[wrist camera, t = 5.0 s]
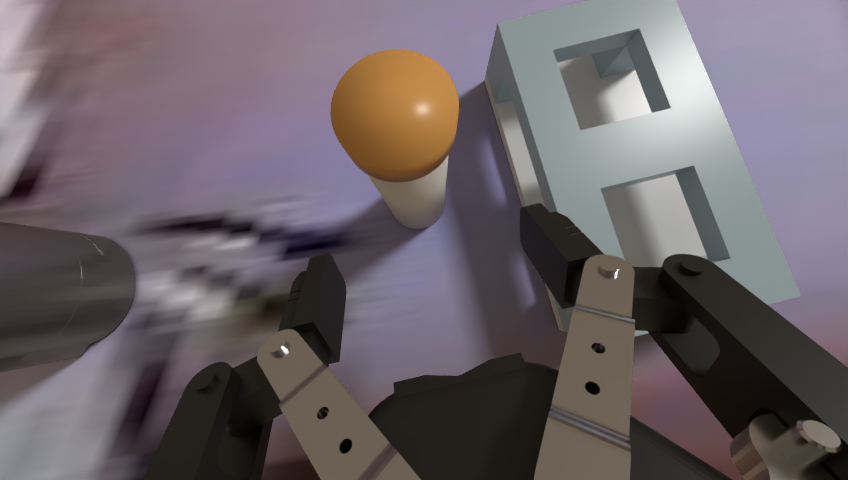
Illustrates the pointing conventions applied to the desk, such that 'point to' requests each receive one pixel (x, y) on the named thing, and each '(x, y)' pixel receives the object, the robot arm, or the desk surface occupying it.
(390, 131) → the orange ball-topped peg
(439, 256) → the desk surface
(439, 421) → the robot arm
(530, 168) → the grey hollow block
